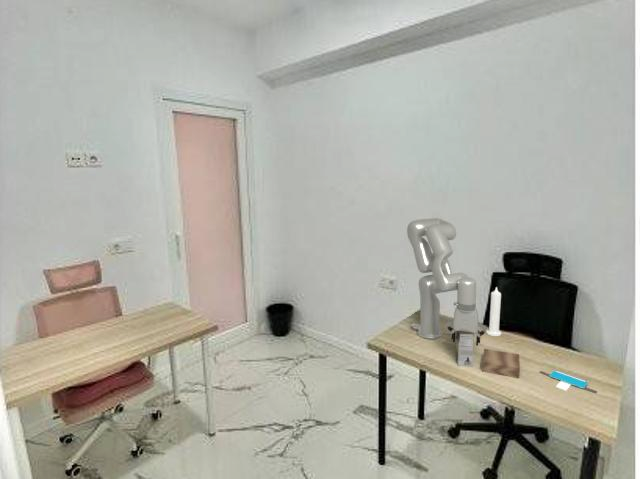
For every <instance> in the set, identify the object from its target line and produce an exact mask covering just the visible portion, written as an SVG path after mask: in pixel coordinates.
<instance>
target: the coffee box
mask: <svg viewBox="0 0 640 479" xmlns="http://www.w3.org/2000/svg"><path fill="white" fill-rule="evenodd" d="M455 332H456V338H455V358H456V364H457V366H459V367H473V365H474V364H473V363H474V361H473V359H474V343H475V342H474V341H475V333H472V332H466V331H455Z"/></svg>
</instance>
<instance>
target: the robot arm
mask: <svg viewBox="0 0 640 479" xmlns="http://www.w3.org/2000/svg"><path fill="white" fill-rule="evenodd" d="M406 233H407V237H408V241H409V243H410V244H411V246H412V249H413V253H414V254H413V255H414V257H415V261H416V262H415V263H416V267H417V269H418V271H419V272H420V273H422V274H427V273H428V275H424V276H422V277H420V278H419V280H418V287H419V288H418V290H419V296H420V304H419V306H420V307H419V308H420V310H419V311H420V312H419V318H420V319H419V321H420V322H418V323H414V322H412V324H411V328H412V329H415V330H416V333H417V335H418V336H419V337H420V338H423V339H427V340H436V339H439V338H441V337H442V336H443V331H442V330H441V329H440V315H441V314H440V313H441V312H440V310H441V307H440V306H441V301H440V299H439V298H438V296H437V294H440V293H441V294H442V293H447V292H454V291H457V297H456V298H457V300H456V301H454V302H453V306H455V308H454V312H453V319H449V320H447V321H445V322H444V323H445V327H446V328H447V330H448V331H449V332H450V333H451V340H452V342H453V343H456V331H466V332H472V333H474V335H476V337H475V338H476V339H475V340H476V341H475V345H476V346H479V344H480V343H481V337H482V336H483V335H485V334H486V331H487V330H488V326H486V325H484V324H482V323H481V322H479V313H478V309H477V308H476V307H477V280H476V279H475V278H473V277H469V276H468V274H466V273H464V272H455V273H452V269H451V265H450V262H449V258H450V257H451V256H452V255H453V253H454V252H453V251H454V250H453V248H452V246H451V243H450V241H453V240H454V239H455V238H456V236H457V230H456V228H455V226H454V225H453V224H452V223H451V222H449V221H446V220H444V219H442V218H437V217H436V218H433V217H432V218H423V219H416V220H412V221H409V223H408V225H407V228H406ZM424 237H426V239H427V240H426V239H425V238H424ZM429 273H432V274H429ZM451 324H453V326H451ZM479 328H481V329H482V330H481V331H480V330H479Z"/></svg>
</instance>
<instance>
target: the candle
mask: <svg viewBox="0 0 640 479" xmlns="http://www.w3.org/2000/svg"><path fill="white" fill-rule="evenodd" d="M501 299H502V293H501V292H500V291H499V290H498V286H496V287H495V289H494V290H493V291H491V293H490V305H489V306H490V308H489V323H488V324H489V325H488V326H489V327H488V328H489V329H488V328H487V330H486V332H485V334H487V335H488V336H490V337H500V336H502V332H501V330H500V318H501V316H500V315H501V301H502V300H501Z"/></svg>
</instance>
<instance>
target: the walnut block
mask: <svg viewBox="0 0 640 479" xmlns="http://www.w3.org/2000/svg"><path fill="white" fill-rule="evenodd" d="M520 363H521V362H520V354H519V353H514V352H507V351H501V350H495V349H490V348H483V358H482V368H481V371H482V373H487V374H488V373H489V374H493V375H498V376H504V377H508V378H514V379H520V370H521V369H520V368H521V364H520Z"/></svg>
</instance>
